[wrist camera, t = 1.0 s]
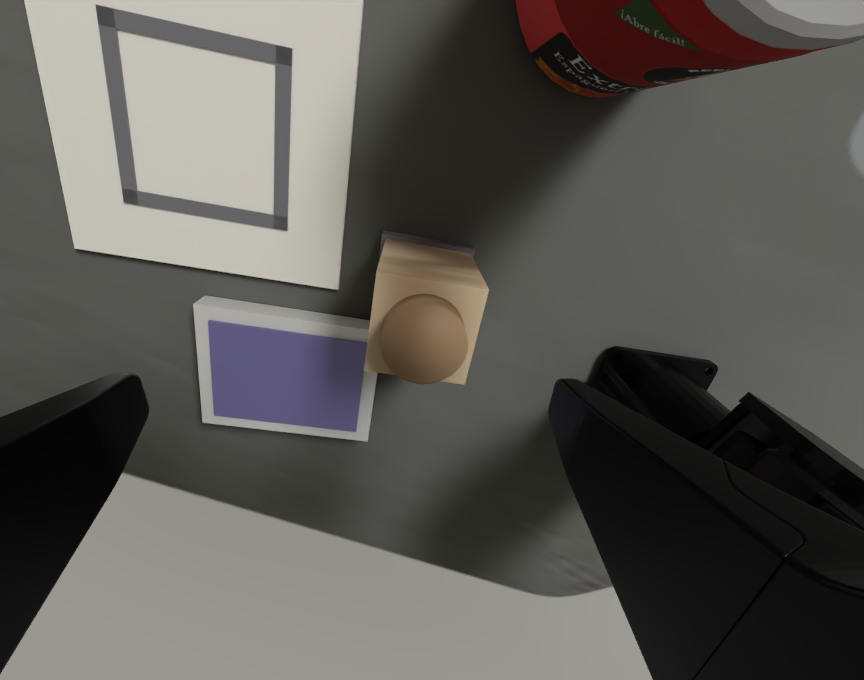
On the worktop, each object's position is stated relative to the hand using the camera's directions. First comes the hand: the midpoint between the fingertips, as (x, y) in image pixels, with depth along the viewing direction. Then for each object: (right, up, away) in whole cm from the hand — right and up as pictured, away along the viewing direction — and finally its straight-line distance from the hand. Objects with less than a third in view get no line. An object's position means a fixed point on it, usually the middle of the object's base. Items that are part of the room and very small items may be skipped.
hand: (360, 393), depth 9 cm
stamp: (+1, +4, +11) cm, 12 cm away
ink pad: (-6, 0, +13) cm, 14 cm away
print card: (-8, +10, +8) cm, 15 cm away
